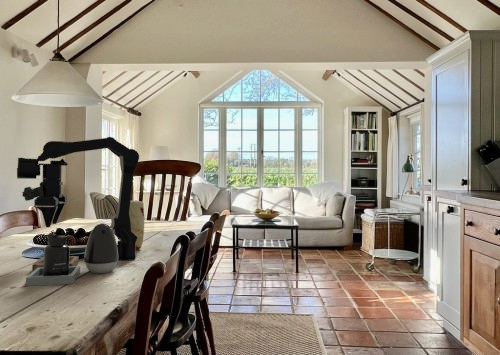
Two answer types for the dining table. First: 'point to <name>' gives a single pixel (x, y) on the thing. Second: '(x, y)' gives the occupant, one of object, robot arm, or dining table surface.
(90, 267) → the grey egg shaped device
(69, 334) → the dining table surface
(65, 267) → the supplement bottle
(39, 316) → the dining table surface
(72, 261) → the walnut collar
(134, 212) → the food model
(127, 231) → the robot arm
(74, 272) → the slate tray
